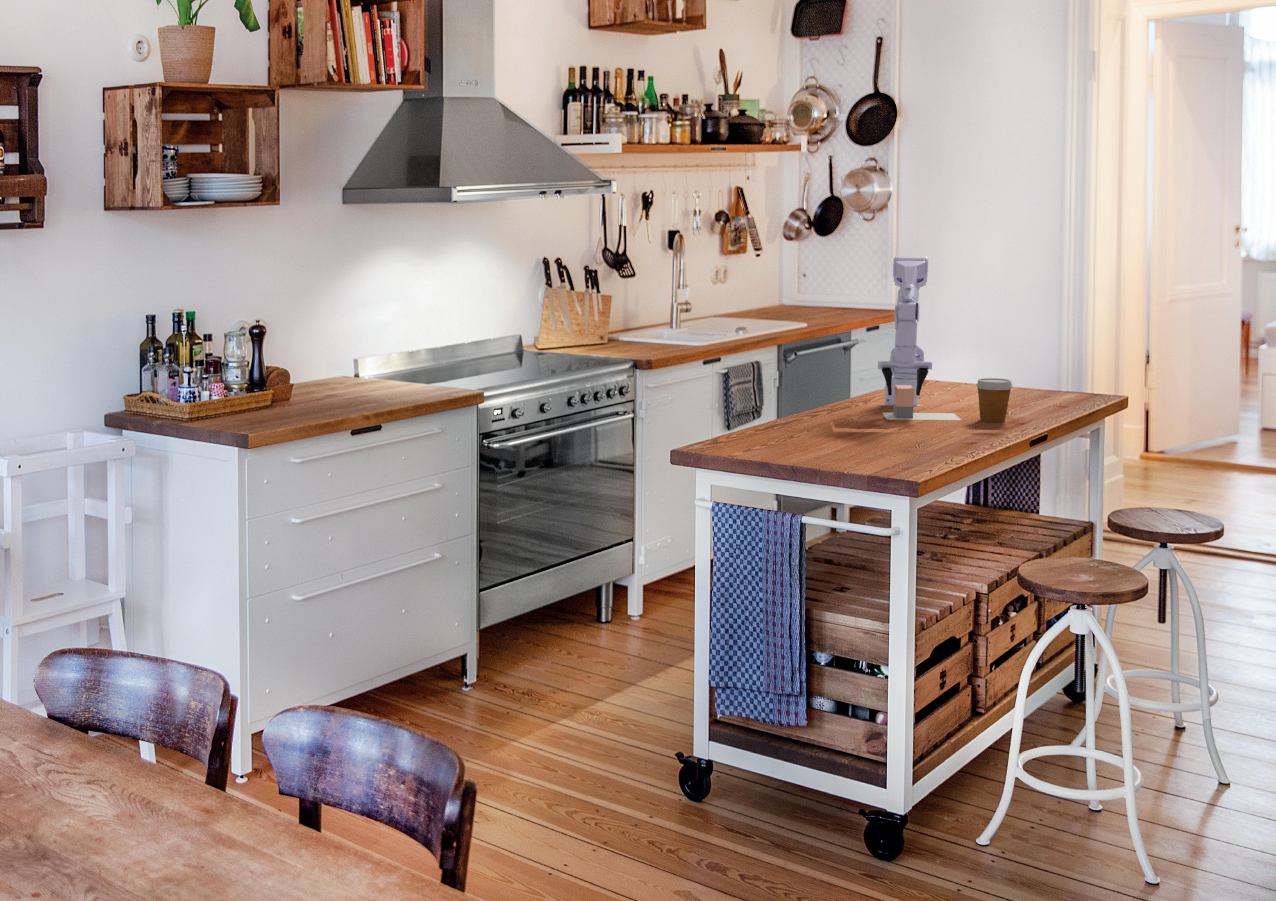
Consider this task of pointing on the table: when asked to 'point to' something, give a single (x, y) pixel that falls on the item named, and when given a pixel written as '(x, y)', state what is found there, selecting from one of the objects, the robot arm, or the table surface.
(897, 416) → the charcoal brick
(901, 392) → the terracotta brick
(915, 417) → the baseplate
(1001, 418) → the disposable coffee cup
